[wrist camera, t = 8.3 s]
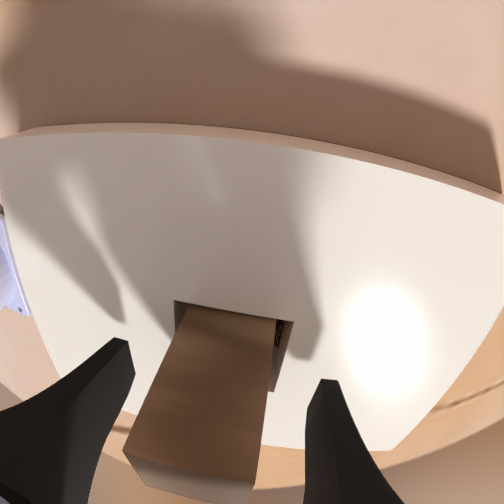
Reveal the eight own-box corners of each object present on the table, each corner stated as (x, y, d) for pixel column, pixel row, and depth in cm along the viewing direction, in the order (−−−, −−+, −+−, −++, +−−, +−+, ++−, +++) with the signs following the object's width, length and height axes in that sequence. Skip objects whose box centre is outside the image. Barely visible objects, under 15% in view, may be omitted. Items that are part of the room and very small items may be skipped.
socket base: (84, 358, 19) (65, 386, 16) (39, 127, 11) (-5, 139, 9) (386, 414, 17) (391, 449, 15) (502, 194, 10) (541, 220, 7)
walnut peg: (207, 318, 15) (145, 485, 7) (208, 264, 13) (122, 450, 6) (270, 329, 15) (243, 508, 7) (280, 276, 13) (254, 483, 5)
